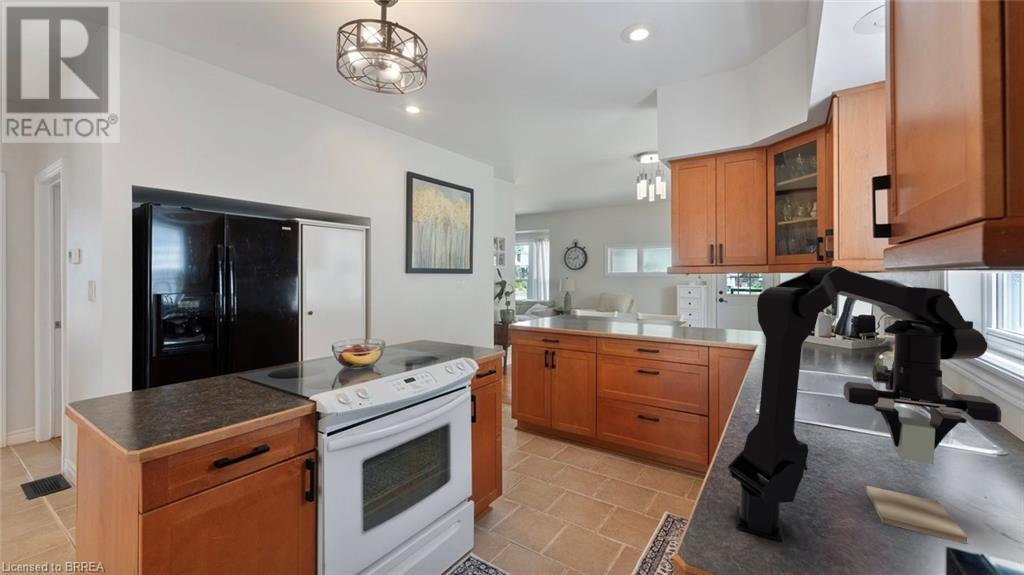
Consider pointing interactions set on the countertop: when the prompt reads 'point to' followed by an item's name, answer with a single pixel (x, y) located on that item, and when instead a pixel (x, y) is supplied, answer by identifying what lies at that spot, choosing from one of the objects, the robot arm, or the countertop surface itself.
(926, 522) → the board
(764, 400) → the robot arm
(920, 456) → the block
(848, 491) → the countertop surface
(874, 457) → the countertop surface
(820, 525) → the countertop surface
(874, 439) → the countertop surface
